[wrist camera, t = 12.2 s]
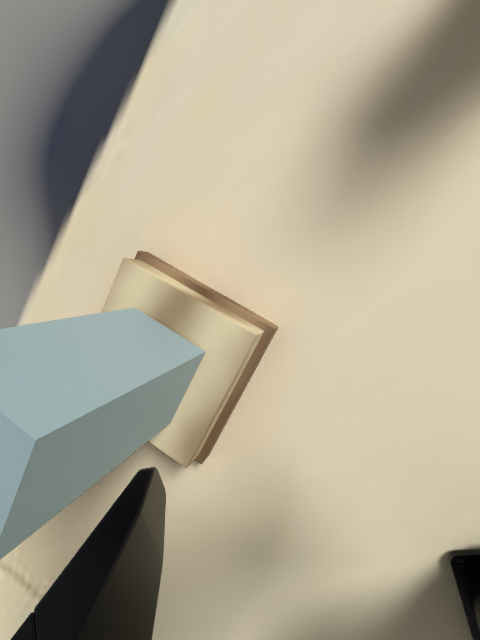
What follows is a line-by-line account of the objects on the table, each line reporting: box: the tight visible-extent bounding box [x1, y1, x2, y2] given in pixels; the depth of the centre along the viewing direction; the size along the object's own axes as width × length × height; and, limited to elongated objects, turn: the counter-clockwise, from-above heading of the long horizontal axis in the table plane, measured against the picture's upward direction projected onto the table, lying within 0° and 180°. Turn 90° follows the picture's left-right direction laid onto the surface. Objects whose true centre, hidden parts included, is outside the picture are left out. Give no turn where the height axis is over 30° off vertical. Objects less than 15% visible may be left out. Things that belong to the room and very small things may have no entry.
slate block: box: [0, 308, 206, 559], centre depth 17 cm, size 6×6×12 cm
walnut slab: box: [135, 251, 278, 464], centre depth 26 cm, size 11×11×2 cm
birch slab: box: [101, 258, 264, 468], centre depth 24 cm, size 10×10×2 cm
